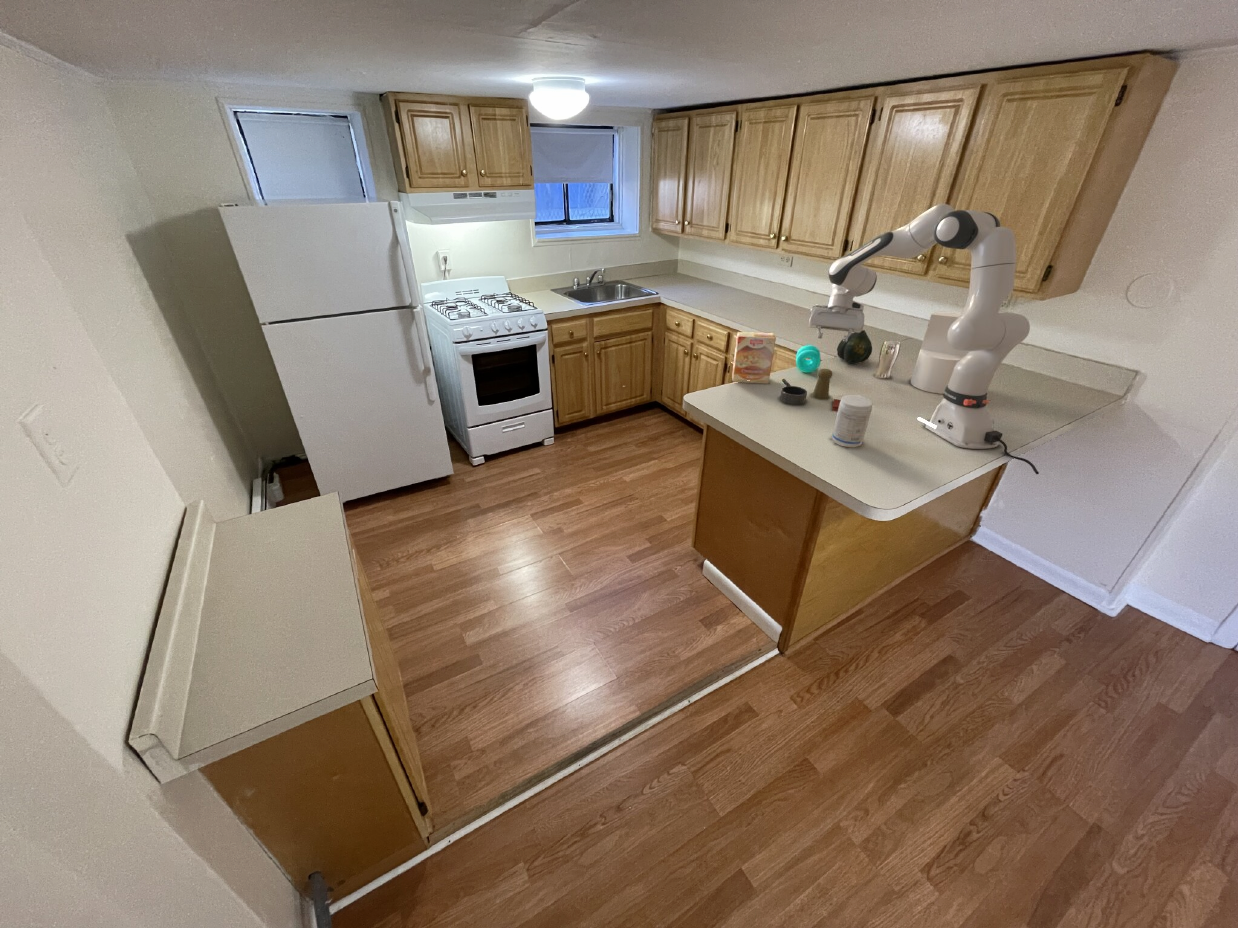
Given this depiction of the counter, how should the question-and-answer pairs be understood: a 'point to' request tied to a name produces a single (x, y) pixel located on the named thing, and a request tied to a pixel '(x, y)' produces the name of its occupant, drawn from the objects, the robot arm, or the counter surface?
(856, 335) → the squash
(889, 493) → the counter surface
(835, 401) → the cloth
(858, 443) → the supplement tub
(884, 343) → the beer glass
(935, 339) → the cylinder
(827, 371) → the olive tall rounded piece
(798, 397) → the pan
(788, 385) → the pan handle
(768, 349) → the coffeecake box
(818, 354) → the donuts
